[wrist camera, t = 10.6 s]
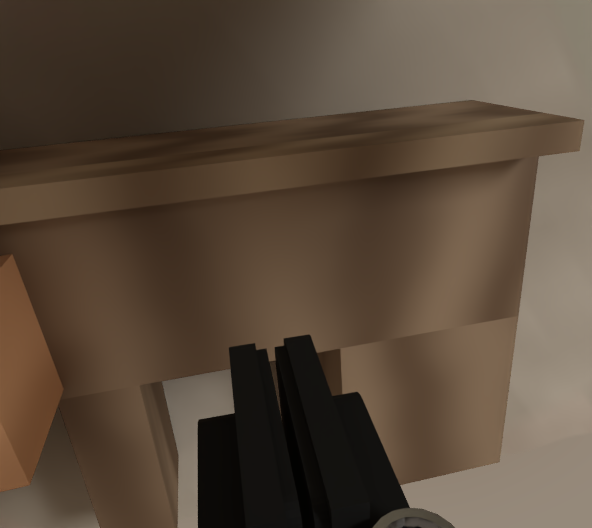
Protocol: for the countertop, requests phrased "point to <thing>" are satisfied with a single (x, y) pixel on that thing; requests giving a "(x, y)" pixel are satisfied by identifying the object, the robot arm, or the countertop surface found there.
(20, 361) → the block
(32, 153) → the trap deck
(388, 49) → the countertop surface
